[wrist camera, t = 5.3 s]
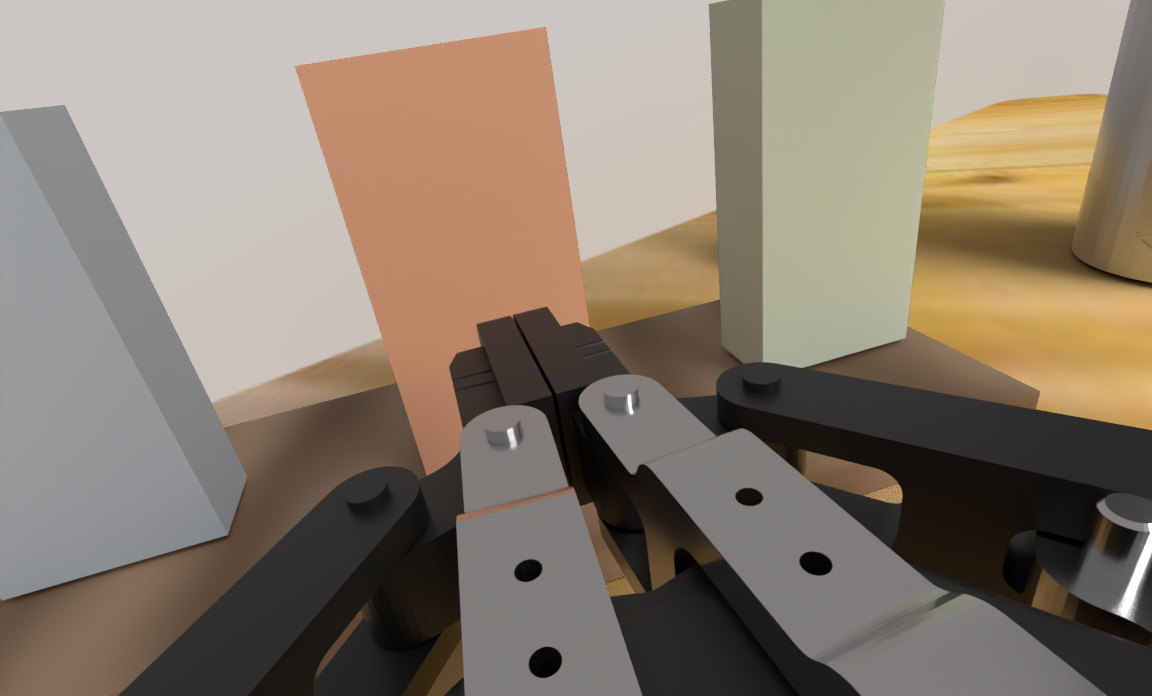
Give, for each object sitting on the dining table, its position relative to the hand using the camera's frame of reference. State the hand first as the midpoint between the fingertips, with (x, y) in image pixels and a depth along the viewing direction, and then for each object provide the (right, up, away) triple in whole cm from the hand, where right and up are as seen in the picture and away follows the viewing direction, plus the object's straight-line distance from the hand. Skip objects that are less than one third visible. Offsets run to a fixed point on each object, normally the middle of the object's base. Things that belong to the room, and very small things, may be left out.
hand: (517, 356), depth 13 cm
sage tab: (+10, 0, +11) cm, 15 cm away
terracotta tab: (-1, -3, +8) cm, 9 cm away
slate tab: (-12, -6, +6) cm, 15 cm away
